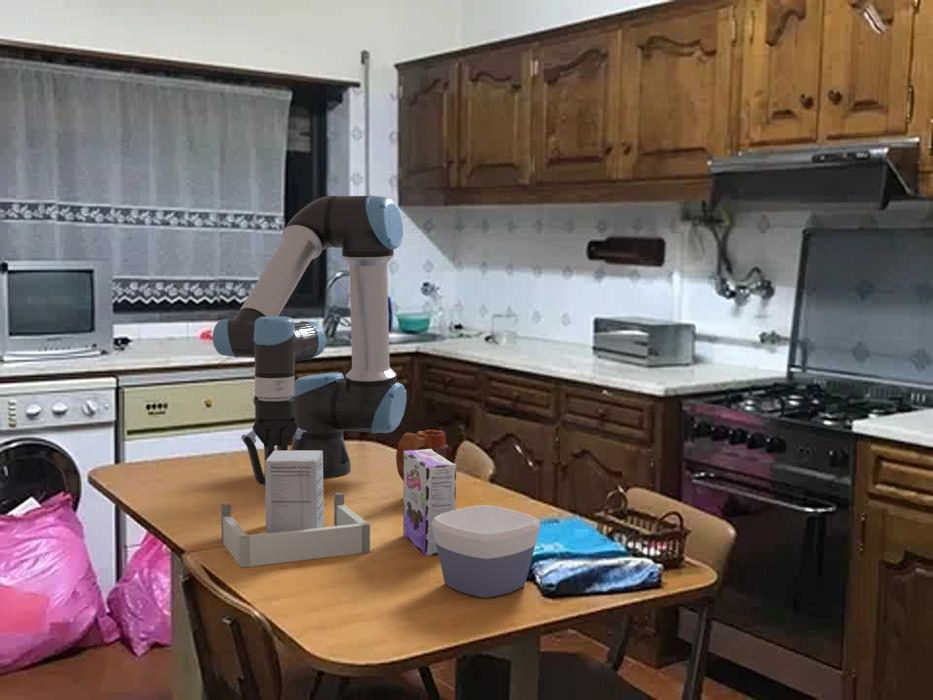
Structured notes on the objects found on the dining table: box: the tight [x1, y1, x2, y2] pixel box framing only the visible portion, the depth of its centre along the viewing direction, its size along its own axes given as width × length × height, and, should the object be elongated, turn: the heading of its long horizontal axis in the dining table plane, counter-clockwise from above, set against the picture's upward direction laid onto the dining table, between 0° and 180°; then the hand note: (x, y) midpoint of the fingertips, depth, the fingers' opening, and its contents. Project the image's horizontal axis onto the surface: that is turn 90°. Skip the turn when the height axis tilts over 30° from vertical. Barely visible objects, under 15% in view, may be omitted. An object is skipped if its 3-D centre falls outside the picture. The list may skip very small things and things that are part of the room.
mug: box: [395, 429, 452, 482], centre depth 222 cm, size 15×8×15 cm, turn 141°
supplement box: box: [264, 450, 325, 534], centre depth 188 cm, size 10×9×17 cm
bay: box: [220, 492, 371, 568], centre depth 188 cm, size 16×23×7 cm
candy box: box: [402, 449, 457, 557], centre depth 191 cm, size 14×6×16 cm, turn 21°
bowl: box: [431, 504, 541, 599], centre depth 169 cm, size 15×15×11 cm
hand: (276, 517), depth 202 cm, fingers closed
